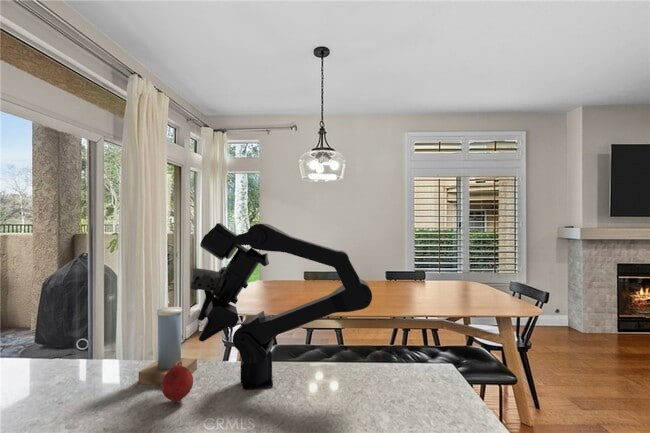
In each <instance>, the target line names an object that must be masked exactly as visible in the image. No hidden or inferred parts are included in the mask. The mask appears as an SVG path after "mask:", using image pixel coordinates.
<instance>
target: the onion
mask: <svg viewBox="0 0 650 433" xmlns="http://www.w3.org/2000/svg"><path fill="white" fill-rule="evenodd" d="M193 384H194V376H193V373H192V374H191V372H190V371H189V370H188V369H187V368H186V367H184V366H182V362H181V361H178V362H176V364H175V365H174V367H173V368H171V369H170V370H169V371H168V372H167V373H166V375H165V376H164V378H163V381H162V385H161V391H162V394H163V396H164V397H165V398H166V399H167V400H168V401H172V402H174V403H180V402H181V401H182V400H183V399H184V398H186V396H188V394H190V392H191V390H192V389H193V386H194V385H193Z"/></svg>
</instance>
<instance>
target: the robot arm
mask: <svg viewBox="0 0 650 433" xmlns="http://www.w3.org/2000/svg"><path fill="white" fill-rule="evenodd" d="M199 245H200V246H199V247H200V248H202V249H204V250H205V251H206V252H208V253H210V254H211V255H212V256H213V257H215V258H216V259H218V260H220V261H224V259H226V260H229V263H228V264H227V265H226V266H223V267H221V268H220V270H219V271H216V270H214V269H212V270H211V269H206V268H197V267H194V268H193V269H192V273H191V276H190V281H189V287H190V289H191V290H195V291H199V290H200V291H204V295H205V297H204V300H203V302H202V306H201V309H200V310H199V314H198V316H197V320H198V321H200V322H202V321H204V320H205V319H207V320H206V321H205V324H204V326H203V328H202V331H201V332H200V335H199V337H198V341H199V342H202V343H203V342H205V341H207V340H209V339H210V338H211V337H213V336H215V335H217V334H218V333H220V332H221V331H224V330H226V329H228V328H235V327H236V325H237V324H238V322H239V321H240V318H239V314H238V309H237V306H234V305H236V304H237V303H238V302H239V300H238V296H239V295H240V293H241V292H242V291H243V290H242V289H244V290H246V289H247V288H248V286H249V283H248V281H249V279H250V277H251V276H252V275H253V274H254V272H255V270H256V269H257V267H258V266H259V264H260V265H261V266H263V267H267V266H269V265H270V262H269V257H268V256H269V255H268V253H263V254H262V253H260V252H259V251H264V252H265V251H266V252H273V253H274V252H276V253H277V252H278V253H285V254H289V255H293V256H297V257H299V258H302V259H306V260H309V261H312V262H315V263H319V264H321V265H322V264H323V265H325V266H329V267H332V268H334V269H335V272H336V273H337V275H338V277H339V279H340V282H341V284H342V285H341V286H339V287H337V288H336V289H335V290H333V291H332V292H331V293H329V294H328V295H325V296H322V297H319V298H317V299H315V300H312V301H308V302H306V303H304V304H301V305H299V306H296V307H294V308H291V309H287V310H285V311H283V312H281V313H277V314H274V315H268V316H266V313H265V311H264V310H262V311H261V312H259V313H257V314H255V315H248V317H246V318H245V320H243V321H242V322H241V323H240V326H239V327H238V328H237V329H236V330H235V331H234V333H233V335H232V344H233V346H234V348H235V349H236V350H237V351H238V352H239V355H240V358H241V360H240V384H241V385H242V390H244V391H245V390H246V391H248V390H255V389H265V388H273V387H274V380H273V354H272V351H271V349H272V347H273V345H274V342H275V339H274V337H277V336H278V335H281V334H283V333H286V332H288V331H291V330H293V329H296V328H299V327H302V326H304V325H307V324H309V323H311V322H314V321H317V320H321V319H322V318H326V317H327V316H330V315H332V314H337V313H339V314H340V313H351V312H356V311H362V310H365V309H366V308H369V306H370V305H371V303H372V301H373V293H372V289H371V288H370V286H369V284H368V282H366V281H365V280H364V279H362V278H360V277H359V275H358V273H357V271H356V270H355V268H354V265H353V264H352V262H351V261H350V257H349V255H348V253H347V252H346V251H344V250H341V249H334V248H331V247H328V246H324V245H321V244H318V243H314V242H311V241H309V240H308V241H307V240H304V239H301V238H298V237H295V236H292V235H289V234H288V233H286V232H284V231H283V230H280V229H279V228H277V227H275V226H273V225H271V224H269V223H255V224H253V225H251V226H250V227H249V228H248V230H247V232H244V233H238V234H236V233H235V232H233V231H232V230H230V229H229V228H227V226H226V225H225V224H223V223H221V222H217V223H216V224H215V225H214V227H212V228H211V229H210V230H209V231H208V232H207V233H205V234H204V235H203V238H202V239H201V242H200V243H199ZM245 246H249V247H250V248H249V249H248V248H246V247H245ZM230 258H231V259H230ZM231 303H232V304H234V305H232V304H231Z"/></svg>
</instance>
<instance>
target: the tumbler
mask: <svg viewBox="0 0 650 433" xmlns="http://www.w3.org/2000/svg"><path fill="white" fill-rule="evenodd" d="M182 313H183V308H182V307H181V306H167V307H162V308H159V309H156V315H157V360H158V369H161V370H169V369H171V368H173V367H174V365H175V364H176V362H178V361H181V358H182Z"/></svg>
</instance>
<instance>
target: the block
mask: <svg viewBox="0 0 650 433" xmlns="http://www.w3.org/2000/svg"><path fill="white" fill-rule="evenodd" d="M181 362H182V366H184V367H186V368H187V369H188V370H189V371H190V372H191V374H192V375H193V373H194V372H196V370H197V369H198V359H197V358H190V357H189V358H188V357H181ZM169 370H170V369H169ZM169 370H161V369H158V359H157V360H156V361H154V362H152V363H151V364H150V365H148V366H146V367H144V368H143V369H141V370H140V371H138V384H141V385H152V386H162V381H163V378H164V376H165V375H166V373H167V372H168V371H169Z"/></svg>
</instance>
